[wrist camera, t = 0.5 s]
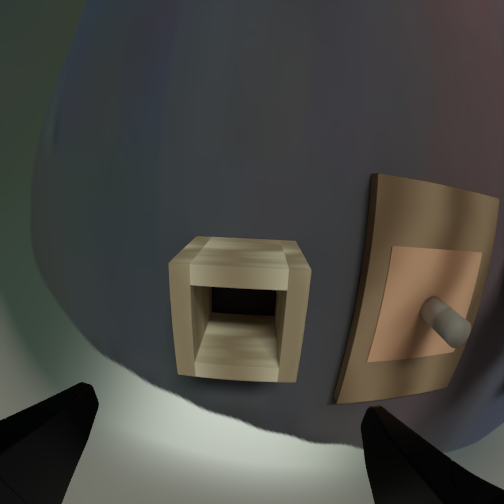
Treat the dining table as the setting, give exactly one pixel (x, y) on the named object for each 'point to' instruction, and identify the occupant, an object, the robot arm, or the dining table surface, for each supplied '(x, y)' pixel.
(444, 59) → the dining table surface
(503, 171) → the dining table surface
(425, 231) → the post board
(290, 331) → the collar
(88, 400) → the robot arm
